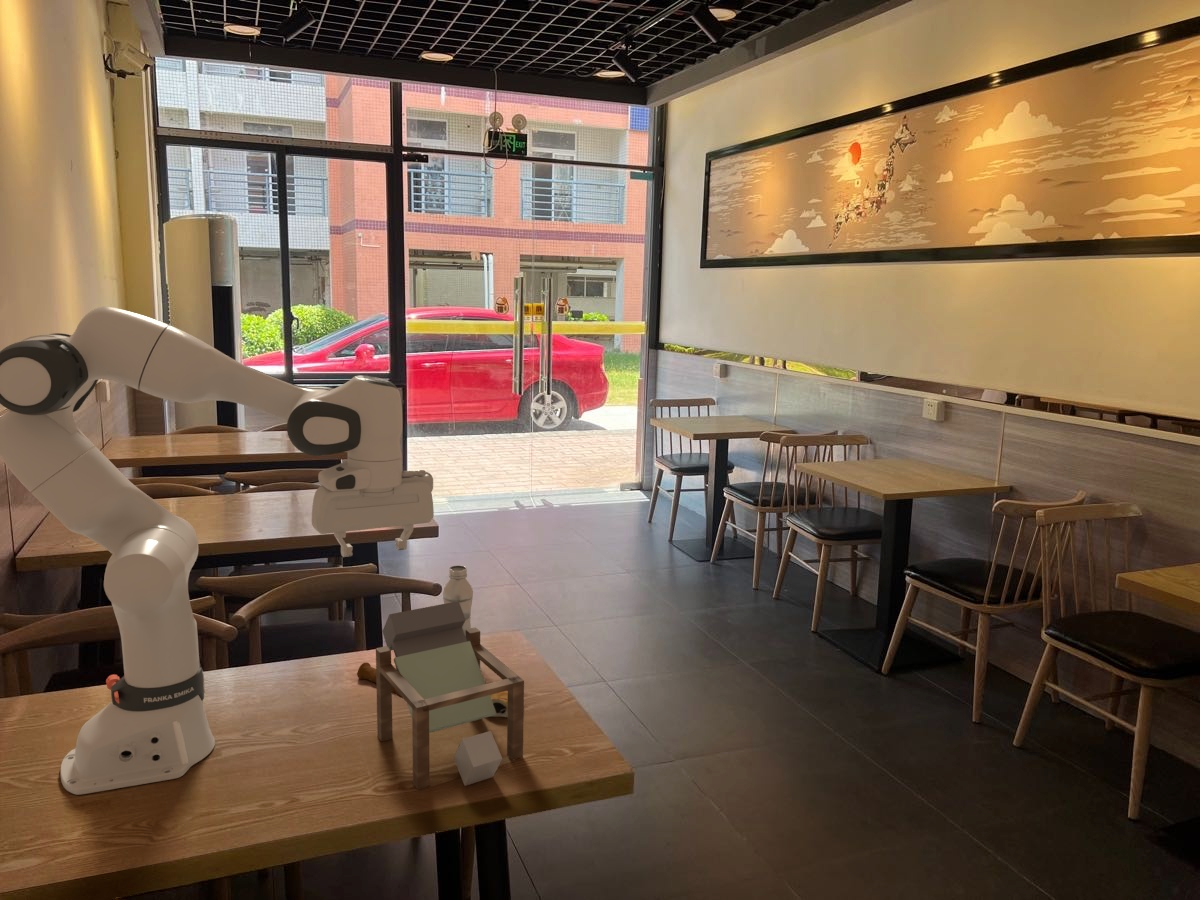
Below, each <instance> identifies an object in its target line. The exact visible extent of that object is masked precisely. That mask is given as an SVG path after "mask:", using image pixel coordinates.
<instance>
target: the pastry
mask: <svg viewBox="0 0 1200 900" xmlns="http://www.w3.org/2000/svg"><path fill="white" fill-rule="evenodd" d="M490 697H491V700H492V702H493V705H494V708H495V711H496V714H495V715H493V716H490V717H491V718H492V717H493V718H498V717H499V718H500V717H501V718H507V712H508V690H507V691H503V692H499V693H495V694H492V695H490Z"/></svg>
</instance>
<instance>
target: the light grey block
mask: <svg viewBox="0 0 1200 900" xmlns="http://www.w3.org/2000/svg"><path fill="white" fill-rule="evenodd" d="M453 760H454V763H455V765H456V767H457V769H458V772H459V775H460V777H461V780H462V783H463V785H464V787H467V786H469V785H472V784H475V783H478V782H481V781H485V780H488V779H491V778H494V776H495V774H496V772H497V770H498V768H499V766H500V764H501V762H502V760H503V757H502V754H501V753H500V749H499V747H498V745H497V743H496V741H495V737H494V735H493V733H492V731H491V730H489V731H485V732H483V733H482V732H481V733H479V734H476V735H471V736H467V737H465V738H461V741H460V744H459V746H458V748H457V750H456V753H455V755H454V757H453Z"/></svg>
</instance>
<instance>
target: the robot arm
mask: <svg viewBox="0 0 1200 900" xmlns="http://www.w3.org/2000/svg"><path fill="white" fill-rule="evenodd" d="M99 380H106V381H107V380H108V381H113V382H116V383H119V384H122V385H125V386H128V387H130V388H131V389H135V390H137V391H140V392H142V393H144V394H148V395H150V396H153V397H155V398H159V399H162V400H167V401H170V402H176V403H181V404H196V403H202V402H215V401H219V402H221V401H223V402H229V403H235V404H239V405H242V406H244V407H248V408H251V409H253V410H255V411H258V412H261V413H264V414H267V415H269V416H272V417H275V418H278V419H280V420H282V421H284V422H286V430H287V436H288V438H289V441H290V442H291V443H292V445H293V446H294V447H295V448H296V449H297V450H298V451H300V452H302V453H303V454H305V455H309V456H313V457H314V456H315V457H323V456H327V455H329V456H330V455H334V454H341V453H344V452H346V453H347V460H346V461H344V462H341V463H338V464H336V465H334V466H331V467H327V468H325V469H323V470H321V471H319V472H318V476H317V477H318V482H319V484H320V486H319V487H318V488H316V490H315V492H314V496H313V501H312V507H311V508H312V509H311V525H312V527H313V529H314V530H315V531H317V532H318V533H319V534H320V535H326V534H333V536H334V537H335V539H336V540H337V542H338V544H339V545H340V555H341V556H342V557H343V558H346V557H353V554H354V553H353V549H354V548H353V547H354V546H352V545H351V543H346V542H345V540H344V539H345V538H346V537H347V532H354V531H364V530H373V529H381V528H383V529H384V528H391V527H394V528H395V527H401V528H402V529H403V531H402V532H401V534H400V537H397V538H395V539H394V542H395V544H394V548H395V550H397V551H405V550H407V549H408V547H407V546H408V540H409V538H410V537H411V535H412V533H414V532H413V531H414V525H422V524H429V523H430V522H431V521H432V520H433V519H434V515H435V514H434V512H435V511H434V501H433V495H432V494H433V490H434V478H433V475H432V474H431V473H430V472H428V471H426V470H425V469H417V470H402V469H403V453H402V449H401V443H400V442H401V437H402V435H403V406H402V405H403V404H402V397H401V393H400V390H399V389H398V387H397V386H396V385H395V384H394V383H393V382H391V381H390V380H387V379H384V378H382V377H377V376H372V375H365V374H364V375H355V376H353V377H352V378H351V379H349V380H348V381H347V382H345V383H343V384H341V385H339V386H337V387H335V388H334V387H333V388H332V387H329V386H328V387H327V386H302V385H297V384H293V383H292V382H289V381H286V380H283V379H281V378H278V377H276V376H273V375H270V374H268V373H265V372H262V371H261V370H258V369H255V368H253V367H250V366H247V365H245V364H243V363H241V362H239V361H238V360H236V359H234V358H232V357H230V355H226V354H225V353H224V352H222V351H220V350H218V349H217V348H215V347H213V346H212V345H210V344H208V343H206V342H205V341H203V340H202V339H200V338H198V337H197V336H194V335H192V334H190V333H188V332H187V331H184V330H182V329H180V328H177V327H176V326H173V325H170V324H168V323H166V322H163V321H160V320H157V319H156V318H152V317H149V316H146V315H143V314H140V313H137V312H133V311H129V310H125V309H121V308H117V307H114V306H113V307H112V306H99V307H97V308H94V309H92V310H91V311H89V312H88V313H86V314H85V315H84V316H83V318H82V319H80V321H79V323H78V325H77V327H76V329H75V330H74V332H73V334H67V333H56V332H55V333H49V334H39V335H33V336H29V337H27V338H24V339H23V340H21V341H17V342H14V343H11V344H10V345H7V346H6V347H4V348H3V349H2V350H0V405H1V406H2V407H5V408H6V409H7V410H8V411H7V412H5V413H3V415H2V416H1V417H0V459H1V460H2V461H3V462H4V464H5V466H6V467H7V468H8V470H9V471H10V472H11V473H12V475H14V477H16V479H17V480H18V481H19V482H20V483H21V484H22V485H23V487H24V488H25V489H26V490H27V491H28V492H29V493H30V494H31V495H32V496H33V497H34V498H35V499H37V501H39V502H40V504H42V506H43V507H45V509H46V510H48V511H49V512H50V513H51V515H53V516H54V517H55V518H56V519H57V520H58V521H59V522H60V523H61V524H62V525H63V526H64V527H65V528H66V529H67V530H69V531H70V532H71V533H75V534H77V535H80V536H84V537H85V538H88V539H89V540H90V541H93V542H95V544H97V545H99V546H101V547H102V548H104V549H106V550H107V551H108V552H110V554H111V556H110V558H109V559H108V561H107V564H106V567H105V572H104V580H103V589H104V592H105V595H106V597H107V599H108V600H109V601H110V602H111V605H112V606H111V607H112V608H113V612H114V615H115V618H116V621H117V626H118V629H119V633H120V640H121V651H122V662H123V673H124V675H123V676H122V677H121V678H120V676H118V674H110V675H109V676H107V678H106V680H105V683H106V687H107V690H110V696H111V701H110V702H108V704H106V706H104V707H103V708H102V709H101V710H99V711H98V712H97V713H96V714H95V715H93V716H92V717H91V718H90V719H88V720H87V721H85V723H84V724H83V725H82V727H81V728H80V731H78V732H79V733H78V735H77V738H76V744H75V748H73V749H71V750H70V751H69V752H68V753H67V754H66V755H65V756H64V757H63V759H62V762H61V765H60V781H61V784H62V787H63V788H64V789H65V791H67V792H69V793H71V794H73V795H77V796H78V795H79V796H80V795H86V794H92V793H98V792H104V791H110V790H115V789H120V788H121V789H122V788H128V787H134V786H139V785H140V786H141V785H146V784H150V783H157V782H162V781H163V782H165V781H168V780H174V779H175V780H176V779H179V778H181V777H182V776H183V777H184V775H185V774H186V773H187V772H188V771H189V769H190V768H191V767H192V766H194V765H196V764H197V763H198V762H200V761H202V760H203V759H204V758H206V757H207V756H208V755H209V754H210V753H211V752H213V750H214V748H215V744H216V739H215V737H214V735H213V733H212V730H211V727H210V725H209V722H208V721H209V720H208V718H207V715H206V709H205V704H204V699H205V693H206V692H205V691H206V689H205V688H206V687H205V677H204V676H205V675H204V670H203V668H202V664H201V663H200V656H199V655H200V653H199V650H200V649H199V639H198V638H199V637H198V623H197V620H196V619H195V617H194V612H193V609H192V606H191V602H190V594H189V578H190V572H191V571H192V568H193V567H194V565H195V562H197V559H198V557H199V556H198V555H199V540H198V539H199V538H198V534H197V532H196V529H195V528H194V526H193V525H192V524H191V523H190V522H189V521H188V520H186V519H184V518H183V517H181V516H178V515H175V514H173V513H172V512H171V511H170V510H168V509H167V508H166V507H164V506H163V505H162V504H160V503H159V502H158V501H156V500H155V499H153V498H152V496H151V497H150V495H147V493H145V492H144V491H143V490H141V489H140V488H139V487H138V486H136V485H135V484H134V483H133V482H131V480H129V479H128V477H126V475H124V473H122V472H121V471H120V470H119V468H117V467H116V465H114V463H113V462H112V461H110V459H108V457H107V456H106V455H105V454H104V453H103V452H102V451H101V450H100V449H99V448H98V447H97V446H96V445H95V444H94V443H93V441H91V440H90V439H89V438H88V437H87V436H86V435H85V434H84V432H83V431H81V429H80V428H79V426H78V425H77V424H76V421H75V420H74V416H73V413H74V412H76V411H78V410H80V408H81V407H82V406H83V403H84V402H85V401H86V399H87V398H88V397H89V396H90V394H91V393H92V392H93V390H94V389H95V388H96V385H97V383H98V381H99Z"/></svg>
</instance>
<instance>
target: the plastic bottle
mask: <svg viewBox="0 0 1200 900" xmlns="http://www.w3.org/2000/svg"><path fill="white" fill-rule="evenodd" d="M467 570H468V568H467V567H466V566H465V565H460V564H458V565H451V566H450V567H449V569H448V572H449V573H448V578H449V580H448V581H447V583H446V584H445V586H444V587H443V590H442V599H443V600H442V601H443V604H446V603H451V602H457V601H459V603H460V606H461V609H462V611H463V614H464V617H465V619H466V621H465V623H464V624H463V626H462V628H463V631H464V634H465V637H466V629H470V628H472V627H471V624H472V623H471V612H472V604H473V597H474V590H473V587H472V585H471V583H470V582H469V581H468V580H467V578H468V574H467Z"/></svg>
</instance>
